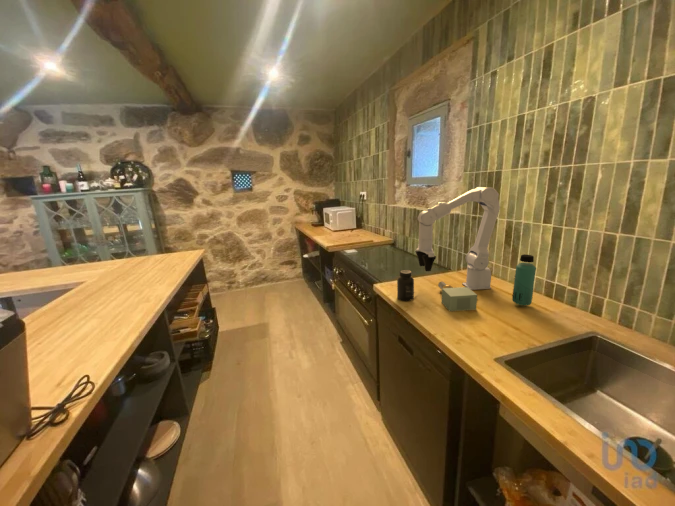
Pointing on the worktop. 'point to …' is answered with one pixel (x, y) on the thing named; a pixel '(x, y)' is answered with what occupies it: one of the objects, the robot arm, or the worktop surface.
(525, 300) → the beverage bottle
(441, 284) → the shaft
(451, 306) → the block
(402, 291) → the supplement bottle
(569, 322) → the worktop surface
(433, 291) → the worktop surface
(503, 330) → the worktop surface
